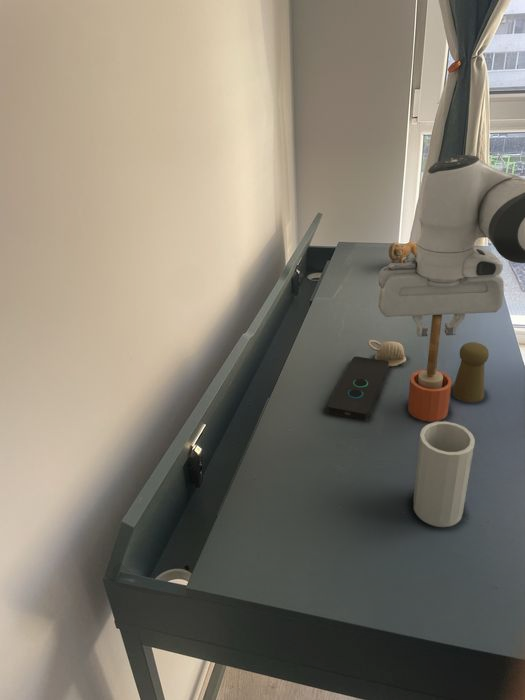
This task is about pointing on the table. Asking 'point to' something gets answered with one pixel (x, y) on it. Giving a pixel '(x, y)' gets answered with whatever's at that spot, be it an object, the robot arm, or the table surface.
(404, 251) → the lion figurine
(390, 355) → the decorative ornament
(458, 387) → the olive pepper mill
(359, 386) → the smart home device
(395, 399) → the table surface
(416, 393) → the brush holder
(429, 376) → the bottle brush
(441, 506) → the white cylindrical cup
